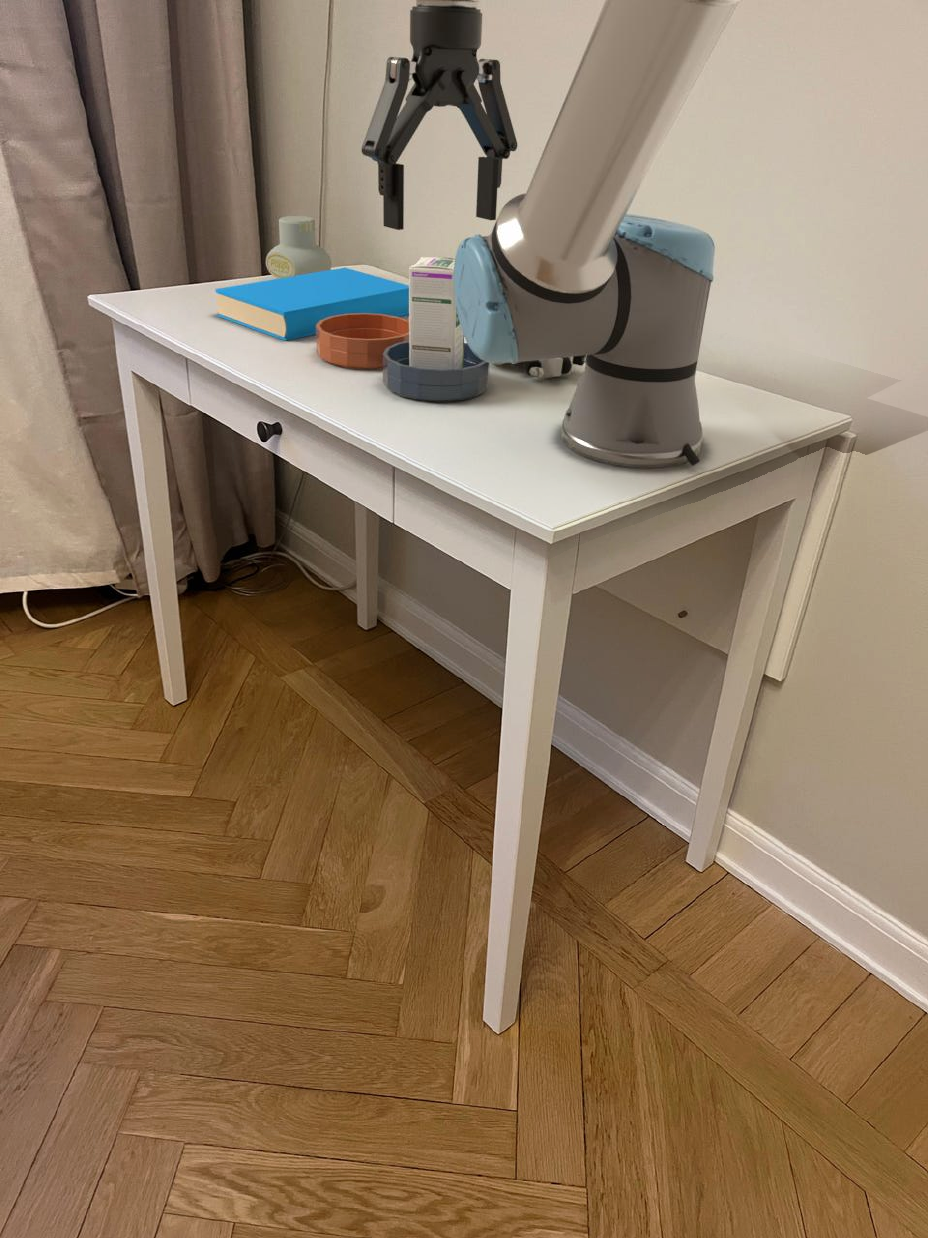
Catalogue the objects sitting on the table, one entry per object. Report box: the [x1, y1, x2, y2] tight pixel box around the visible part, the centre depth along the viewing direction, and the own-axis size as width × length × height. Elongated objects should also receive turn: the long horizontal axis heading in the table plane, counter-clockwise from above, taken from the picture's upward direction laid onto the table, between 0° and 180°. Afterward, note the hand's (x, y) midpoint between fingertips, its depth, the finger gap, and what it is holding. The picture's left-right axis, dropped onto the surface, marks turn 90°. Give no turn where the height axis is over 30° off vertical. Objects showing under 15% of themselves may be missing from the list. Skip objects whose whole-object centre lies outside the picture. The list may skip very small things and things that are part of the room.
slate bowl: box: [382, 341, 491, 403], centre depth 122 cm, size 13×13×4 cm
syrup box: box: [408, 256, 465, 370], centre depth 119 cm, size 6×6×14 cm
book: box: [215, 267, 409, 342], centre depth 148 cm, size 17×4×25 cm
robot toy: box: [492, 355, 587, 379], centre depth 130 cm, size 12×4×15 cm
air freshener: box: [265, 215, 332, 279], centre depth 165 cm, size 11×8×10 cm
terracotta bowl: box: [315, 313, 409, 370], centre depth 132 cm, size 13×13×4 cm
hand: (441, 223), depth 113 cm, fingers open, 13 cm apart
